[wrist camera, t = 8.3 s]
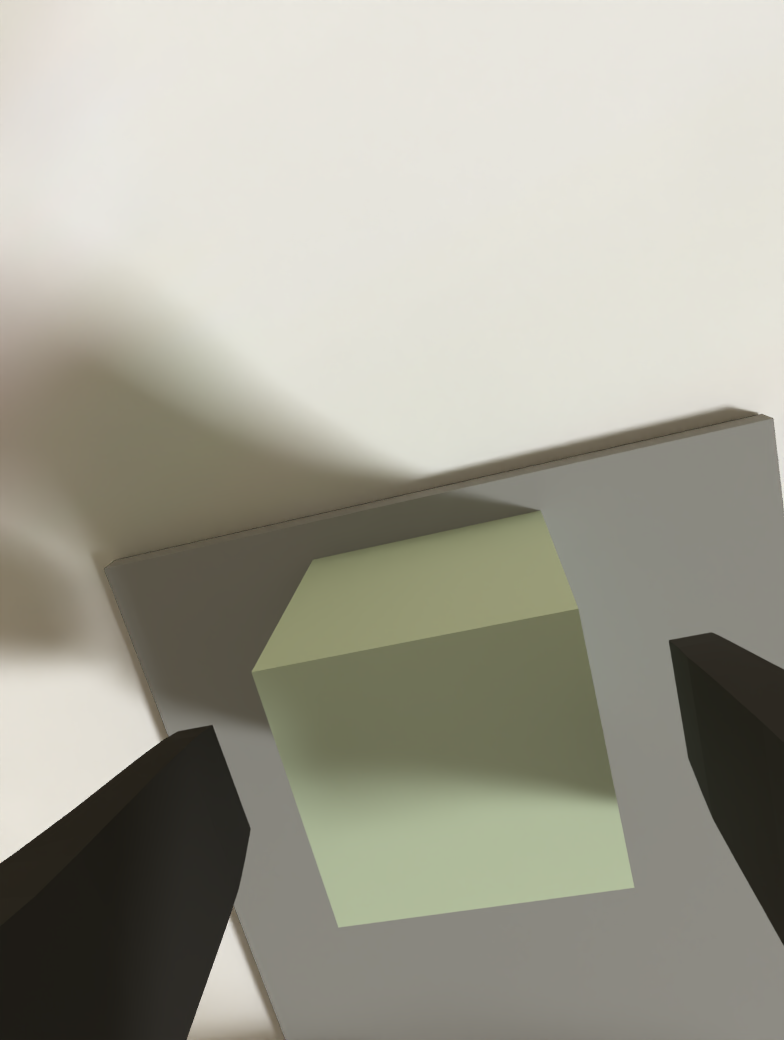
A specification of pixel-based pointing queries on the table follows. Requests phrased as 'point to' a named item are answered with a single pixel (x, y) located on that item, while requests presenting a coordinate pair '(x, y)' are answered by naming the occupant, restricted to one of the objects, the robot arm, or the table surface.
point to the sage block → (444, 726)
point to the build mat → (627, 732)
